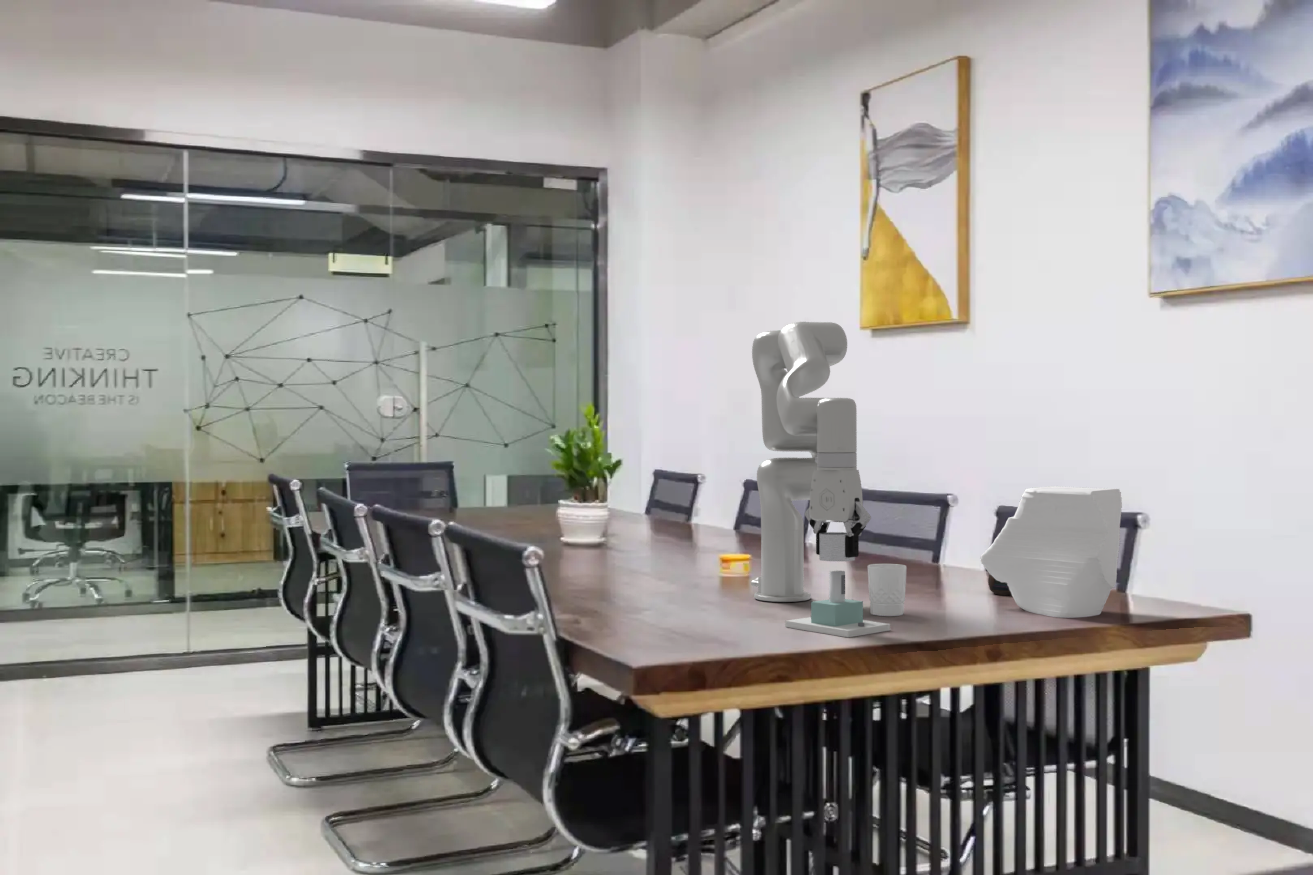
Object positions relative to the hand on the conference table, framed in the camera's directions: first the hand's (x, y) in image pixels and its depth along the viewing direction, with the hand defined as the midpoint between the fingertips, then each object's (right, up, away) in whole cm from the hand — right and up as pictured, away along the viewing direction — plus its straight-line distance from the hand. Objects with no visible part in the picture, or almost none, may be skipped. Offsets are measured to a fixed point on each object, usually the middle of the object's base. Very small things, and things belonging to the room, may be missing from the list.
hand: (837, 554), depth 244 cm
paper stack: (+50, -14, +24) cm, 58 cm away
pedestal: (0, -14, 0) cm, 14 cm away
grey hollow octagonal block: (0, -1, 0) cm, 1 cm away
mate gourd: (+45, -14, +49) cm, 68 cm away
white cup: (+13, -14, +19) cm, 27 cm away
